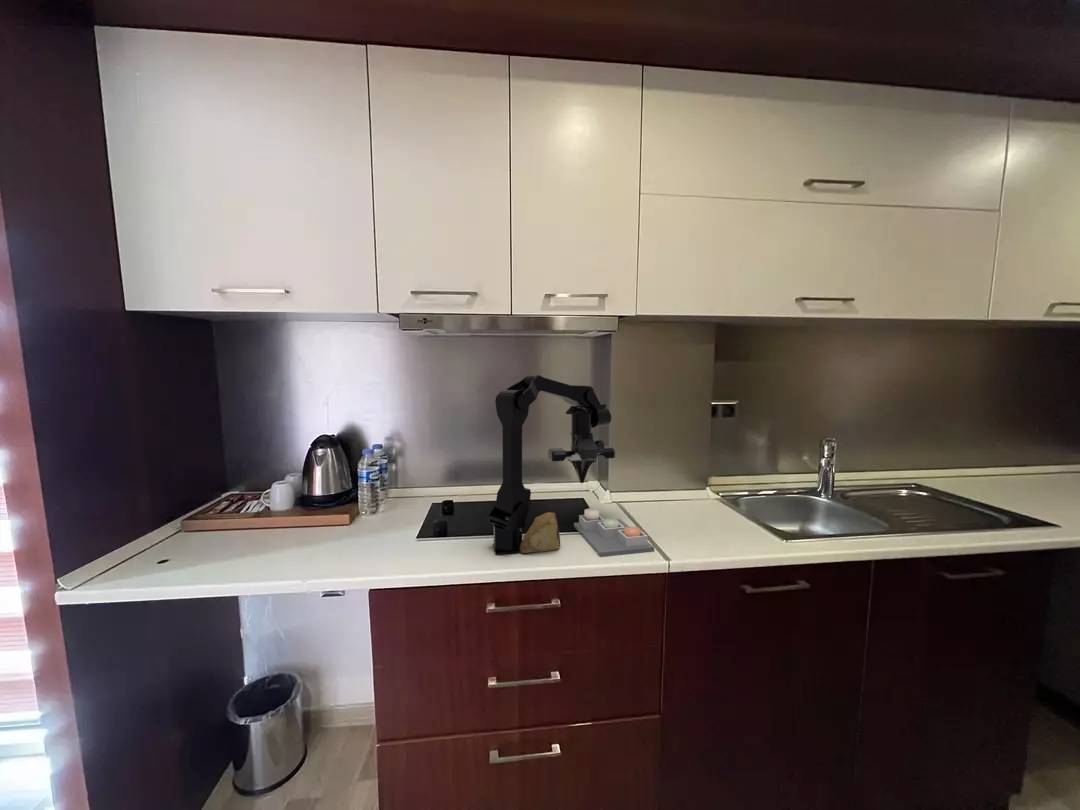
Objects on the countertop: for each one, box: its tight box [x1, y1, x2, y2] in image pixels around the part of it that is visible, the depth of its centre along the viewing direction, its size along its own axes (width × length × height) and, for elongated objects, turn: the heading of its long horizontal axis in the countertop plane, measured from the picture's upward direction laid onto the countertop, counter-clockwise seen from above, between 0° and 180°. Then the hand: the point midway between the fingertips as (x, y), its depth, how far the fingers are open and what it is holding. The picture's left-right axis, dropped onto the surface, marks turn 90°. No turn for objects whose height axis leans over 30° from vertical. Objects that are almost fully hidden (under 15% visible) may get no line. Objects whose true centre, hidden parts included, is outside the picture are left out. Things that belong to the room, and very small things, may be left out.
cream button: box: [583, 507, 600, 521], centre depth 127 cm, size 4×4×3 cm
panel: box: [573, 514, 655, 558], centre depth 121 cm, size 14×22×4 cm, turn 12°
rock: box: [519, 511, 561, 554], centre depth 114 cm, size 11×9×10 cm
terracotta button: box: [624, 526, 642, 537], centre depth 114 cm, size 4×4×3 cm
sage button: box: [603, 518, 619, 529], centre depth 120 cm, size 4×4×3 cm
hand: (581, 482), depth 132 cm, fingers closed
